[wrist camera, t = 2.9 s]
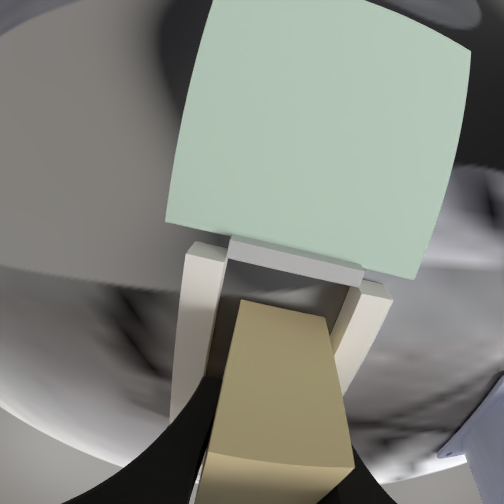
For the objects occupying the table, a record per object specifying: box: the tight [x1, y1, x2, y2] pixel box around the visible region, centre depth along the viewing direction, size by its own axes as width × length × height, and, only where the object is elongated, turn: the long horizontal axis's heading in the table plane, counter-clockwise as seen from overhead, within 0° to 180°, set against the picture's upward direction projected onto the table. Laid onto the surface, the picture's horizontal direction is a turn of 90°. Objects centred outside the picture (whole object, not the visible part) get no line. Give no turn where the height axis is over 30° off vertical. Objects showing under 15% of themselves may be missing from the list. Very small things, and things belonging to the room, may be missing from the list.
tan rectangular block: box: [194, 299, 355, 504], centre depth 9 cm, size 3×6×6 cm, turn 167°
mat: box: [165, 0, 471, 280], centre depth 8 cm, size 9×9×1 cm
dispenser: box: [169, 234, 393, 475], centre depth 11 cm, size 7×11×3 cm, turn 168°
